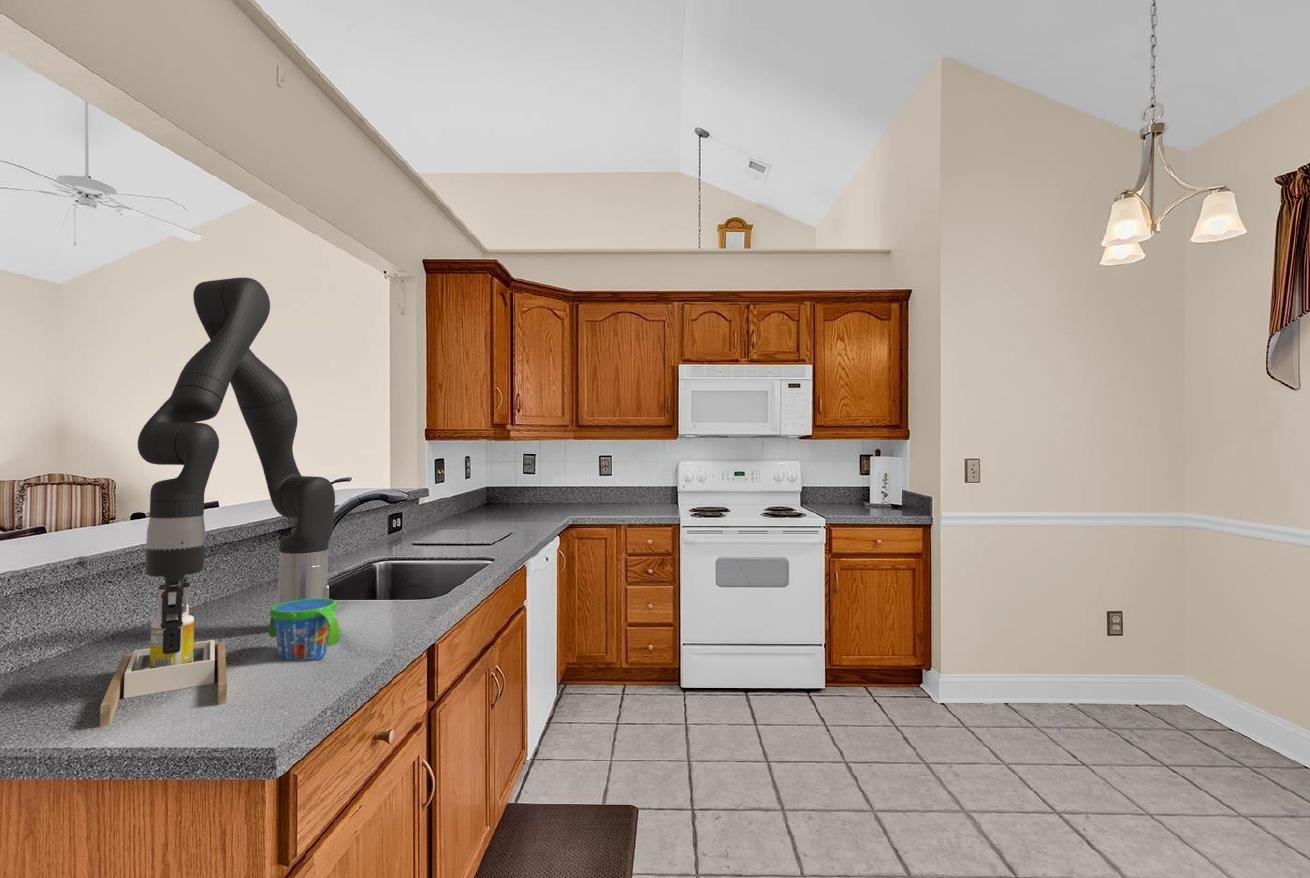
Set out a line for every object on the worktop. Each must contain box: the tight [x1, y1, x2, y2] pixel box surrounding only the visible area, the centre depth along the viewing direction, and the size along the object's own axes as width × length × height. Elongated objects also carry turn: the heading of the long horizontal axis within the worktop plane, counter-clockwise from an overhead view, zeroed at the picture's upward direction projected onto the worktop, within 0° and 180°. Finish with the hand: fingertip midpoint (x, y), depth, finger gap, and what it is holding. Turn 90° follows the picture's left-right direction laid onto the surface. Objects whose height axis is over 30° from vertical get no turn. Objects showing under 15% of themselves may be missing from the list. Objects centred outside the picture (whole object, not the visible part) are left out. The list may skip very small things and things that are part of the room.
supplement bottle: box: [149, 603, 195, 669], centre depth 100 cm, size 6×6×10 cm
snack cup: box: [267, 598, 341, 661], centre depth 114 cm, size 16×10×10 cm
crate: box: [123, 639, 216, 699], centre depth 100 cm, size 11×13×4 cm
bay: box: [99, 640, 228, 728], centre depth 97 cm, size 14×25×4 cm, turn 36°
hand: (172, 647), depth 100 cm, fingers closed on supplement bottle, 5 cm apart
